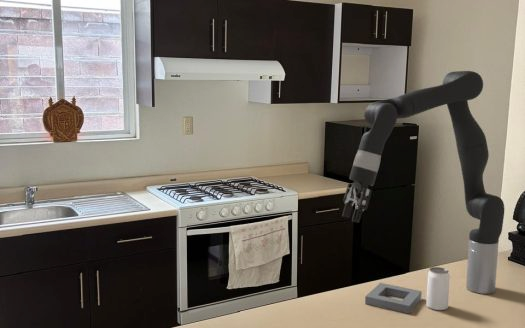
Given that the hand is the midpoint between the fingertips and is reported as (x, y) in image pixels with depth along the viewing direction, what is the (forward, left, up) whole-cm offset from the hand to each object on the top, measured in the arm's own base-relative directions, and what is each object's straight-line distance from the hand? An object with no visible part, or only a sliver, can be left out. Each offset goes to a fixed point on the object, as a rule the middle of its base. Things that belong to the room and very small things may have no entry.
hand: (350, 219), depth 159 cm
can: (-18, +23, -29) cm, 41 cm away
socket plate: (-15, +10, -29) cm, 34 cm away
